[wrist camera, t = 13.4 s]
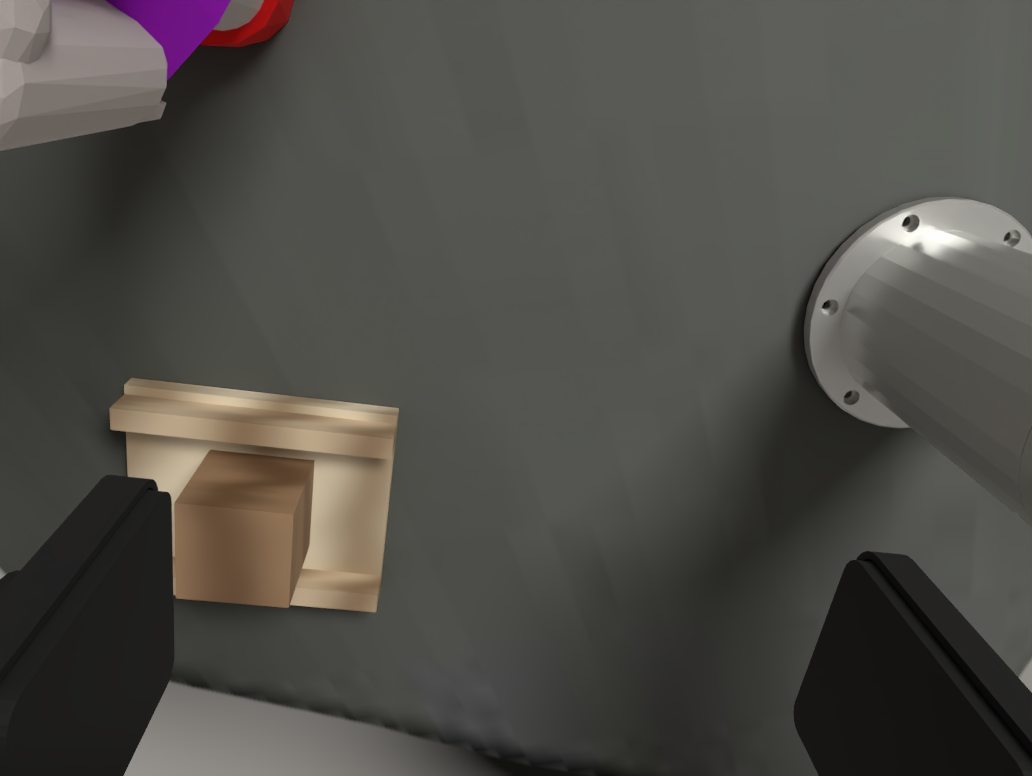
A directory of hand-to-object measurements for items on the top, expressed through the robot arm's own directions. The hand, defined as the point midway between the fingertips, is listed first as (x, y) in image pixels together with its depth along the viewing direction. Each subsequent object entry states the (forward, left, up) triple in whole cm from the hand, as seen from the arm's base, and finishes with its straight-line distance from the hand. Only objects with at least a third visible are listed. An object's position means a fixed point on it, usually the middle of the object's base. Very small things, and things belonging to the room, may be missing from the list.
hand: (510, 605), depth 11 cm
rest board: (+10, +17, -30) cm, 36 cm away
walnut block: (+10, +17, -29) cm, 35 cm away
